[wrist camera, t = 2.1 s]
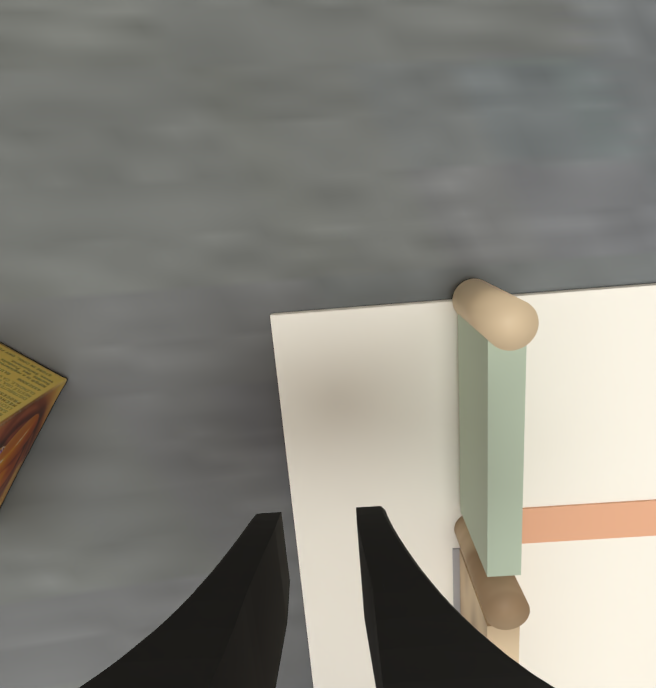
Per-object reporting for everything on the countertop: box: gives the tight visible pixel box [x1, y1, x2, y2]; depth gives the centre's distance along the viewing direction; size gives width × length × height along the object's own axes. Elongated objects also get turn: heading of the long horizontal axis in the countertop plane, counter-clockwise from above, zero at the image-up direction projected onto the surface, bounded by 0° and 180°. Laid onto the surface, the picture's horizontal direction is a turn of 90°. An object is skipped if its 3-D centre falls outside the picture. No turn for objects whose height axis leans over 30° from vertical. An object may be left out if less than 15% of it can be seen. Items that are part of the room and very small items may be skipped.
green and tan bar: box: [452, 279, 539, 577], centre depth 18 cm, size 10×2×4 cm, turn 5°
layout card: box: [270, 283, 656, 688], centre depth 23 cm, size 23×20×1 cm
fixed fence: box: [454, 516, 530, 663], centre depth 21 cm, size 12×2×5 cm, turn 5°
